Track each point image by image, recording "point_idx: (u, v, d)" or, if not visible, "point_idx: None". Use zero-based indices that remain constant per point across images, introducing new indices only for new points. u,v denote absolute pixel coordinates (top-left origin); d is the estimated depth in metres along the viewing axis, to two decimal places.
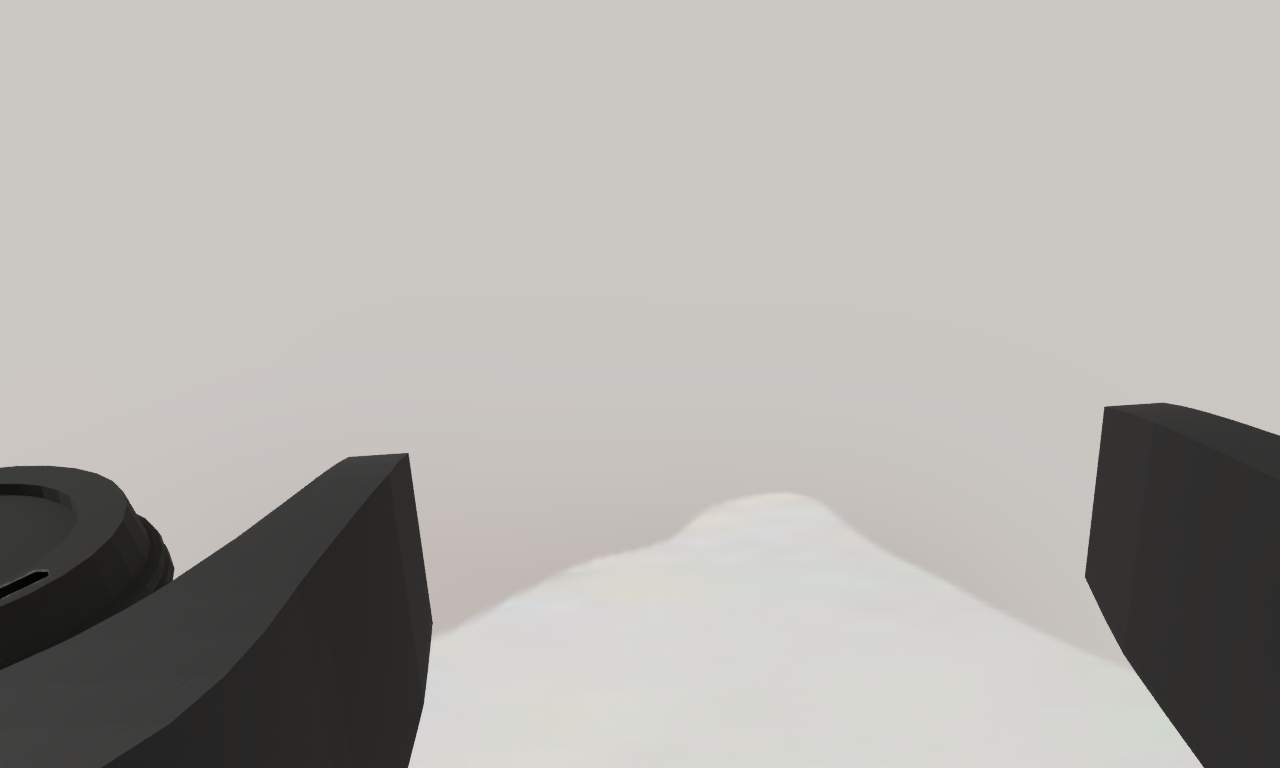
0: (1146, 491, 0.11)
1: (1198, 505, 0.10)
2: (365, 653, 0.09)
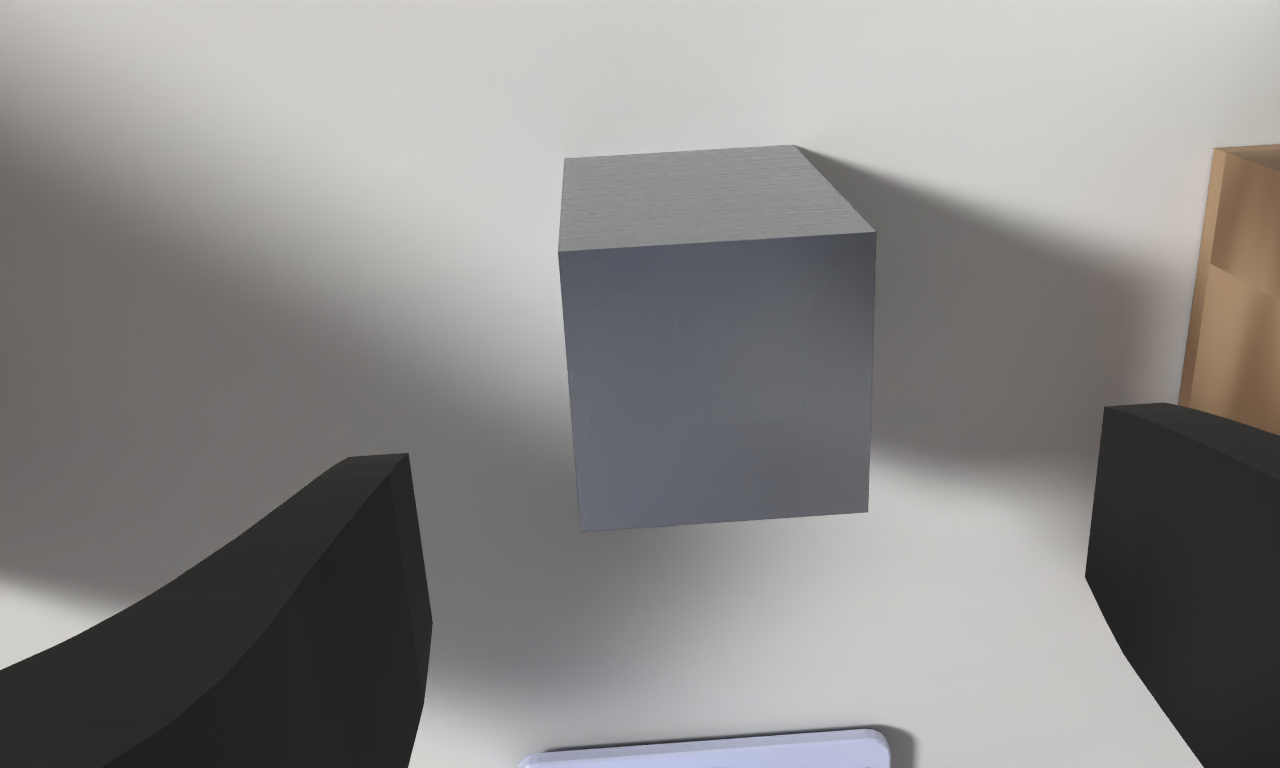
0: (1146, 491, 0.11)
1: (1198, 505, 0.10)
2: (367, 653, 0.09)
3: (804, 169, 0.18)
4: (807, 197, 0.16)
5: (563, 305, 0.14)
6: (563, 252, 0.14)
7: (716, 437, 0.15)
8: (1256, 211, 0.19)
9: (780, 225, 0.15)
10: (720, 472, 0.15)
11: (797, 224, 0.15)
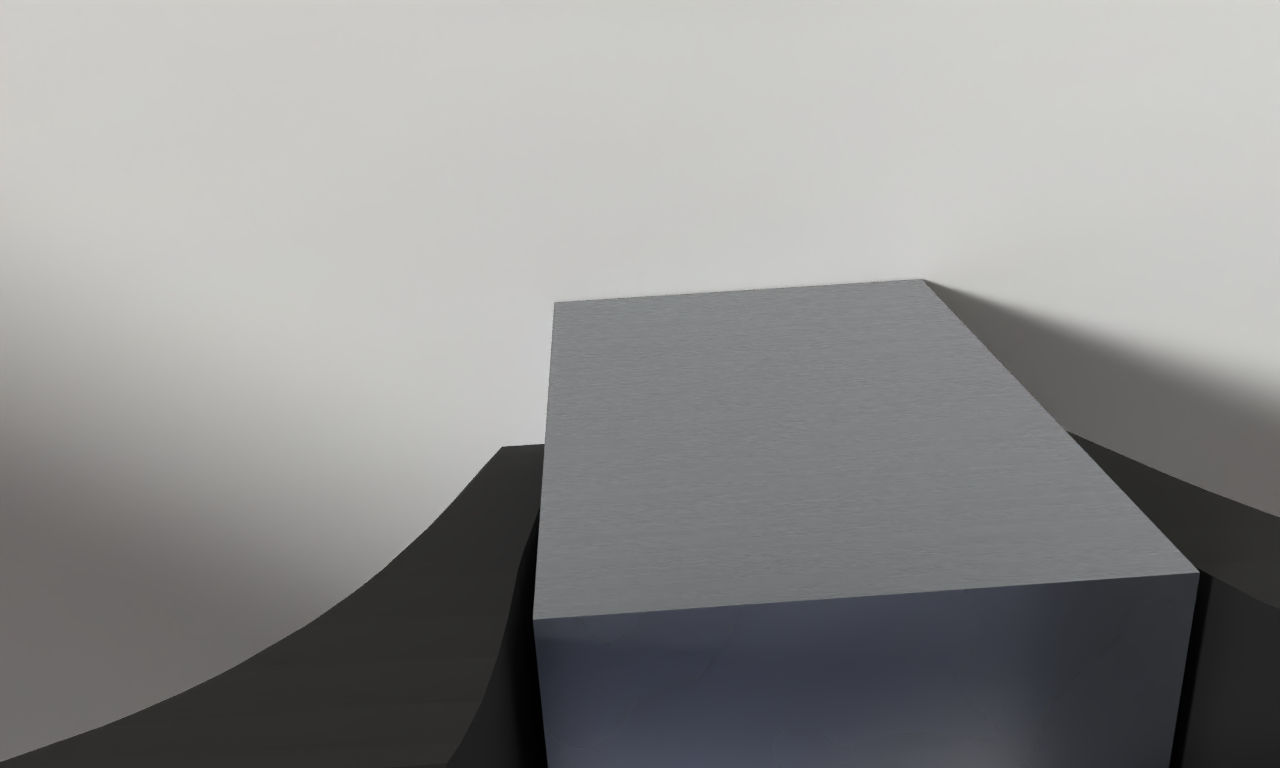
0: None
1: None
2: None
3: (964, 347, 0.10)
4: (1002, 435, 0.09)
5: (545, 716, 0.07)
6: (544, 623, 0.07)
7: None
8: None
9: (982, 535, 0.07)
10: None
11: (1018, 534, 0.07)
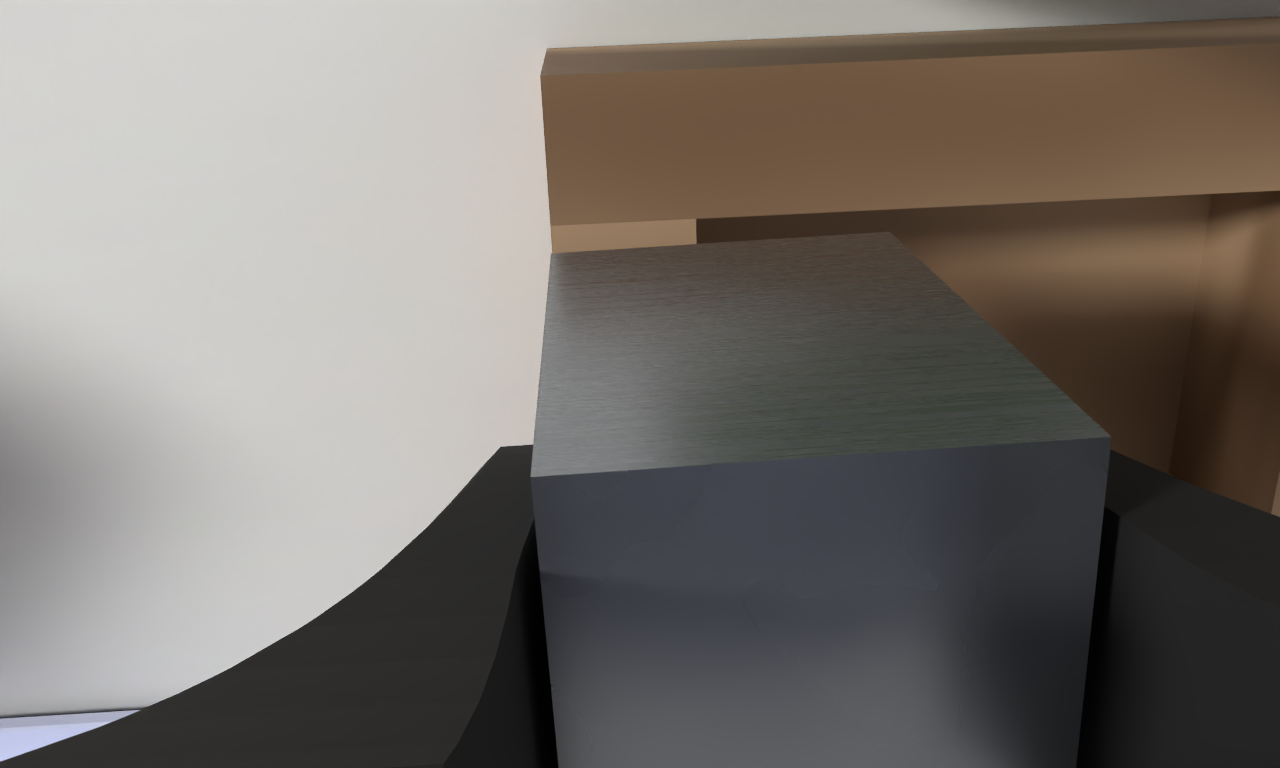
0: None
1: None
2: None
3: (923, 281, 0.11)
4: (950, 344, 0.10)
5: (541, 567, 0.08)
6: (540, 479, 0.08)
7: None
8: None
9: (925, 413, 0.08)
10: None
11: (956, 414, 0.08)
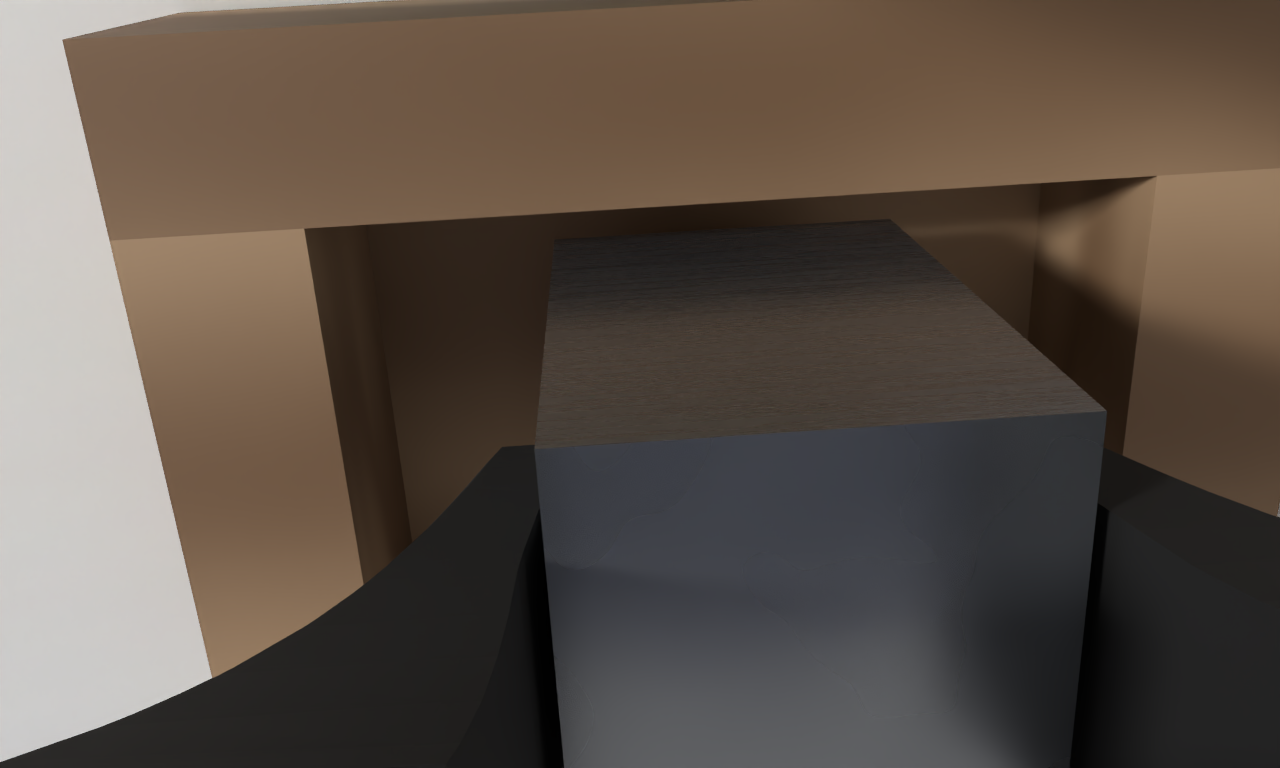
0: None
1: None
2: (549, 640, 0.09)
3: (923, 265, 0.12)
4: (949, 324, 0.10)
5: (544, 539, 0.08)
6: (544, 451, 0.08)
7: (809, 748, 0.09)
8: None
9: (924, 390, 0.08)
10: None
11: (955, 389, 0.08)
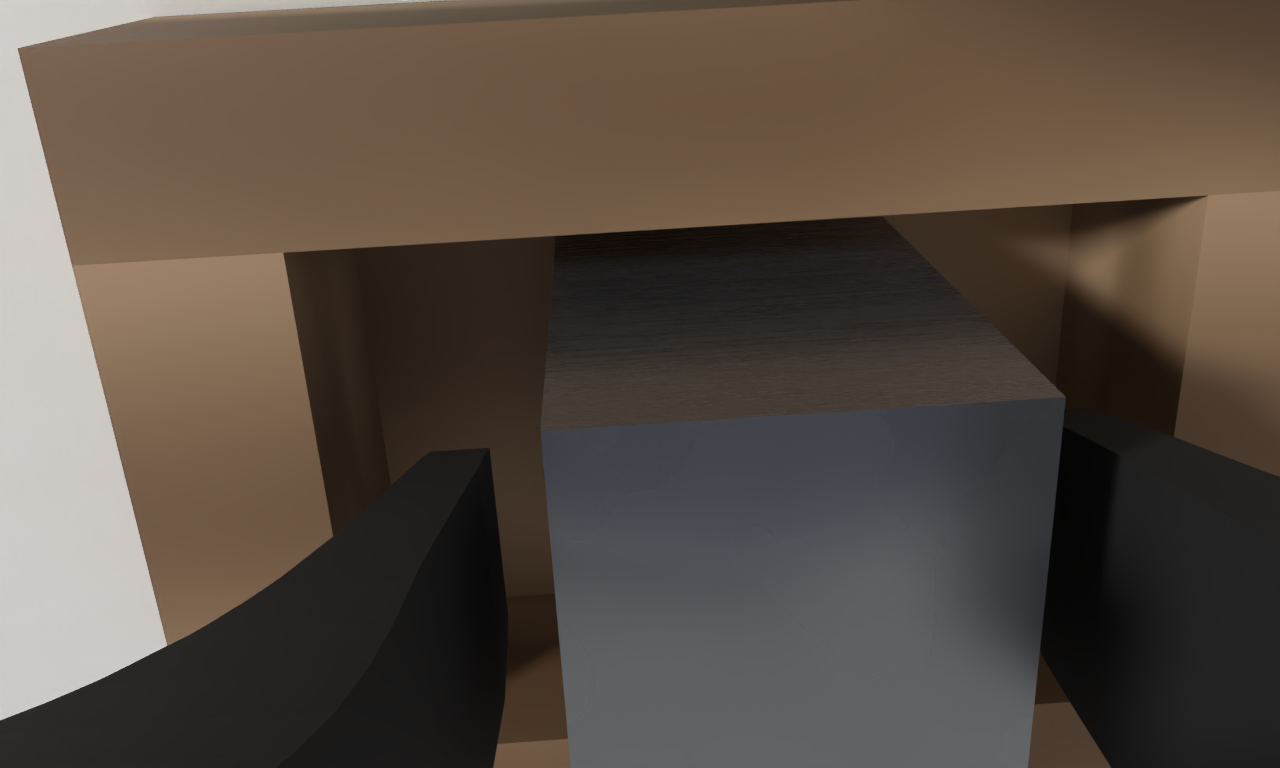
0: (1061, 497, 0.11)
1: (1106, 511, 0.10)
2: (462, 645, 0.09)
3: (905, 257, 0.12)
4: (926, 314, 0.10)
5: (549, 513, 0.09)
6: (549, 432, 0.08)
7: (791, 706, 0.10)
8: None
9: (899, 376, 0.09)
10: (797, 754, 0.10)
11: (926, 377, 0.09)
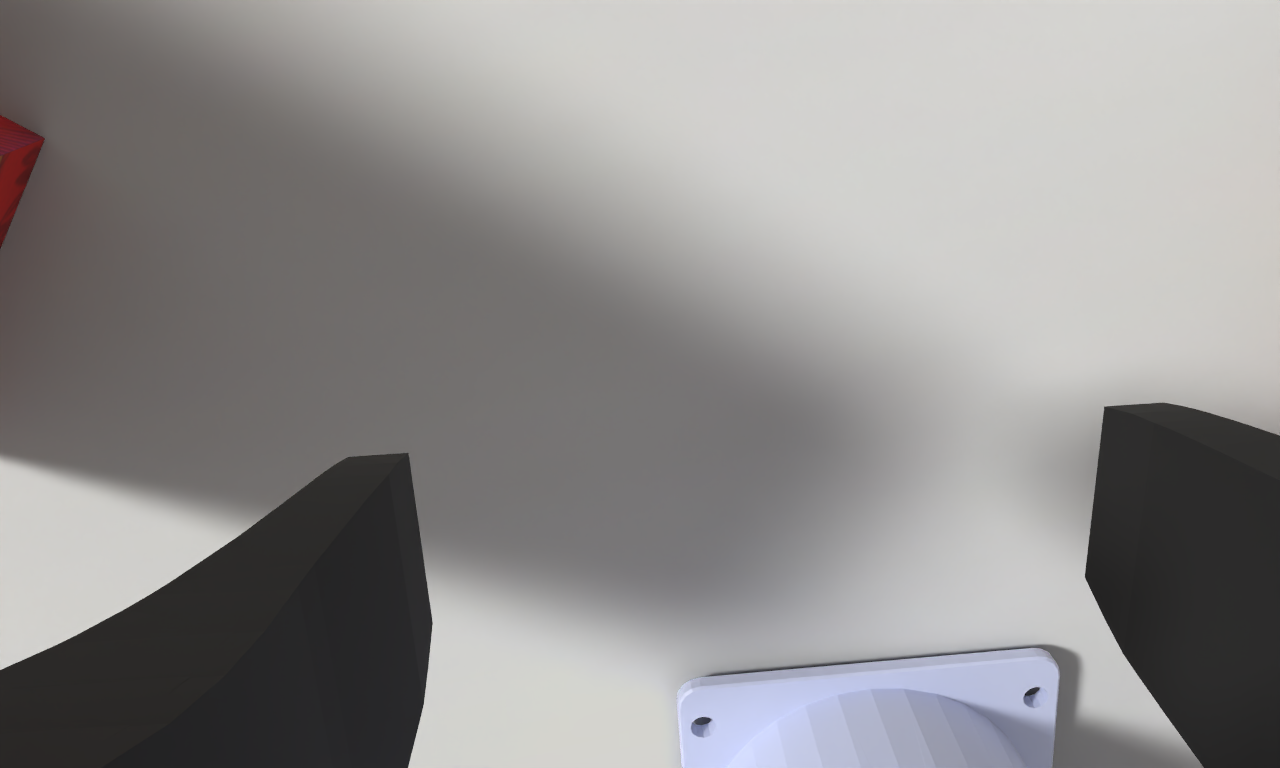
0: (1146, 491, 0.11)
1: (1198, 505, 0.10)
2: (365, 653, 0.09)
3: None
4: None
5: None
6: None
7: None
8: None
9: None
10: None
11: None
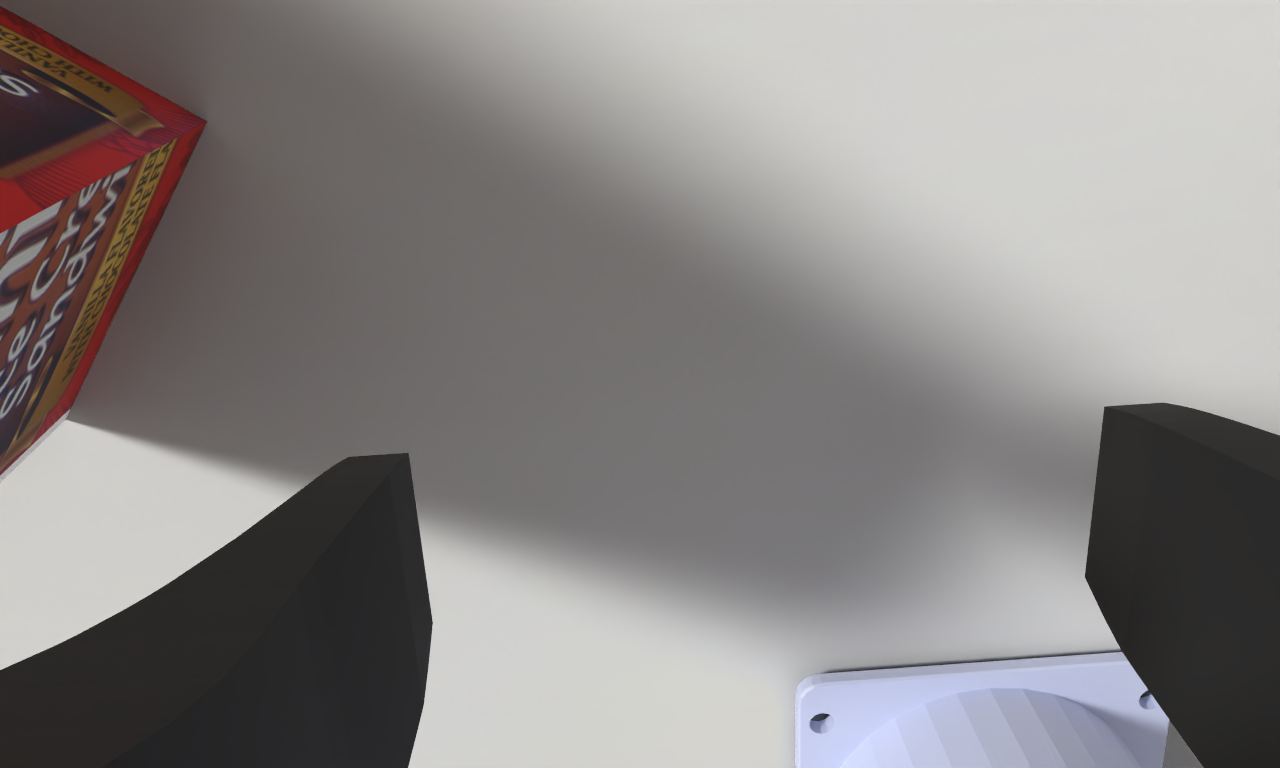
0: (1146, 491, 0.11)
1: (1198, 505, 0.10)
2: (366, 653, 0.09)
3: None
4: None
5: None
6: None
7: None
8: None
9: None
10: None
11: None
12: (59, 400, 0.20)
